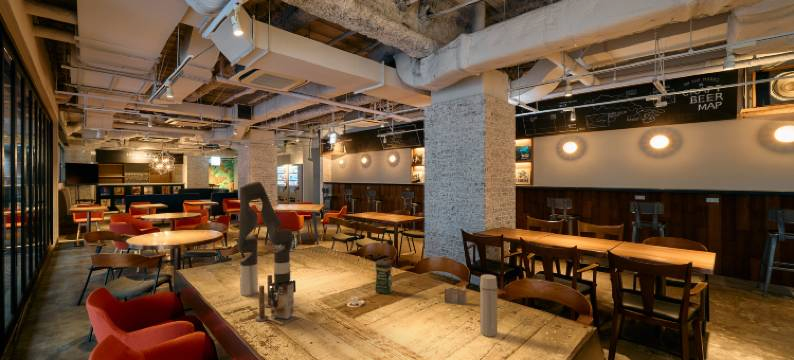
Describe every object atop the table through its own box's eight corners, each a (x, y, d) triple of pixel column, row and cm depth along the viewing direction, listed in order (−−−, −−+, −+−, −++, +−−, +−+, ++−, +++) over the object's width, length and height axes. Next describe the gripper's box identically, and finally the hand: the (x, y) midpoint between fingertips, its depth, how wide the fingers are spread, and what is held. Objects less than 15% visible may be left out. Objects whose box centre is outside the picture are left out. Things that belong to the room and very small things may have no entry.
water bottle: (477, 330, 158) (477, 274, 157) (494, 329, 158) (494, 273, 158) (484, 340, 149) (483, 280, 148) (502, 339, 149) (502, 280, 149)
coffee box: (270, 317, 170) (269, 283, 170) (277, 311, 176) (277, 279, 176) (287, 319, 168) (287, 285, 167) (294, 313, 174) (294, 281, 174)
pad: (266, 319, 171) (266, 317, 171) (283, 312, 180) (283, 311, 180) (282, 325, 165) (282, 323, 164) (299, 318, 173) (299, 316, 173)
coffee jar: (373, 293, 208) (373, 261, 208) (379, 289, 215) (379, 258, 215) (388, 295, 204) (388, 263, 204) (394, 291, 211) (393, 259, 211)
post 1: (252, 319, 171) (252, 286, 171) (263, 315, 176) (263, 283, 176) (260, 322, 168) (259, 289, 167) (271, 318, 172) (270, 285, 172)
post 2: (261, 306, 189) (261, 276, 188) (271, 302, 193) (271, 273, 193) (268, 308, 185) (268, 278, 185) (278, 305, 190) (278, 275, 190)
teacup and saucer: (366, 303, 192) (366, 296, 192) (358, 309, 185) (358, 301, 185) (352, 301, 196) (352, 294, 196) (344, 306, 189) (344, 298, 189)
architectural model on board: (466, 303, 192) (466, 285, 192) (465, 305, 189) (465, 287, 189) (445, 301, 195) (445, 283, 195) (444, 303, 192) (444, 285, 192)
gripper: (274, 275, 164) (274, 311, 164) (299, 268, 175) (299, 301, 176) (264, 273, 168) (264, 307, 168) (289, 266, 180) (289, 298, 180)
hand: (282, 304), depth 172 cm, fingers closed on coffee box, 7 cm apart
